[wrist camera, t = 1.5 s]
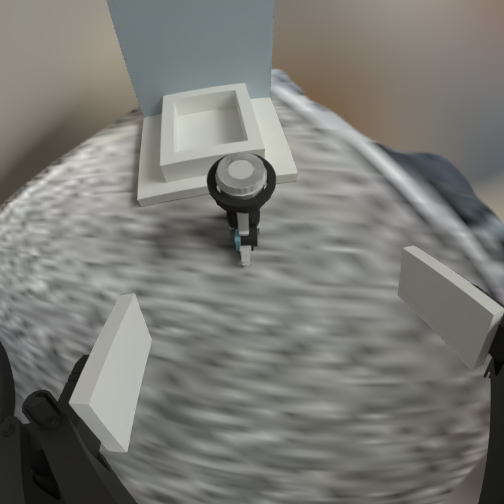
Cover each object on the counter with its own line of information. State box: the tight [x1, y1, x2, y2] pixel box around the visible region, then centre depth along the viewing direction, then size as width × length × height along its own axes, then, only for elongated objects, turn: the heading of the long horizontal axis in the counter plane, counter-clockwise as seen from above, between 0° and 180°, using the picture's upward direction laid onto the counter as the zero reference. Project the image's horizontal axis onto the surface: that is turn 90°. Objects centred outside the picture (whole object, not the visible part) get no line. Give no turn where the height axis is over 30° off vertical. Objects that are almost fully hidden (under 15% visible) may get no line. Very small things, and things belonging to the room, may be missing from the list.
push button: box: [207, 152, 276, 266], centre depth 25 cm, size 7×5×10 cm
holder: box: [107, 0, 298, 206], centre depth 25 cm, size 18×16×22 cm
